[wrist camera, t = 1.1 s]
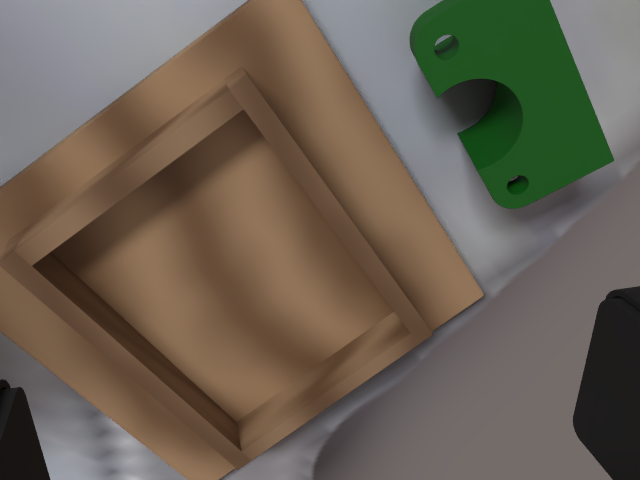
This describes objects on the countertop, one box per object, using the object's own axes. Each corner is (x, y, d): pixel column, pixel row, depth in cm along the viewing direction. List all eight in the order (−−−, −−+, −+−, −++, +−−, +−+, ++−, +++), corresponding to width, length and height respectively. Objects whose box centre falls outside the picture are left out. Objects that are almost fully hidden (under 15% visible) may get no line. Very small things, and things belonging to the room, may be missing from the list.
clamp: (396, 22, 35) (383, 0, 26) (492, -39, 33) (511, -84, 25) (495, 201, 36) (513, 236, 28) (591, 151, 35) (642, 172, 26)
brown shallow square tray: (281, -25, 28) (297, -21, 25) (475, 285, 39) (504, 316, 36) (-82, 248, 30) (-111, 285, 27) (200, 476, 40) (204, 523, 37)
